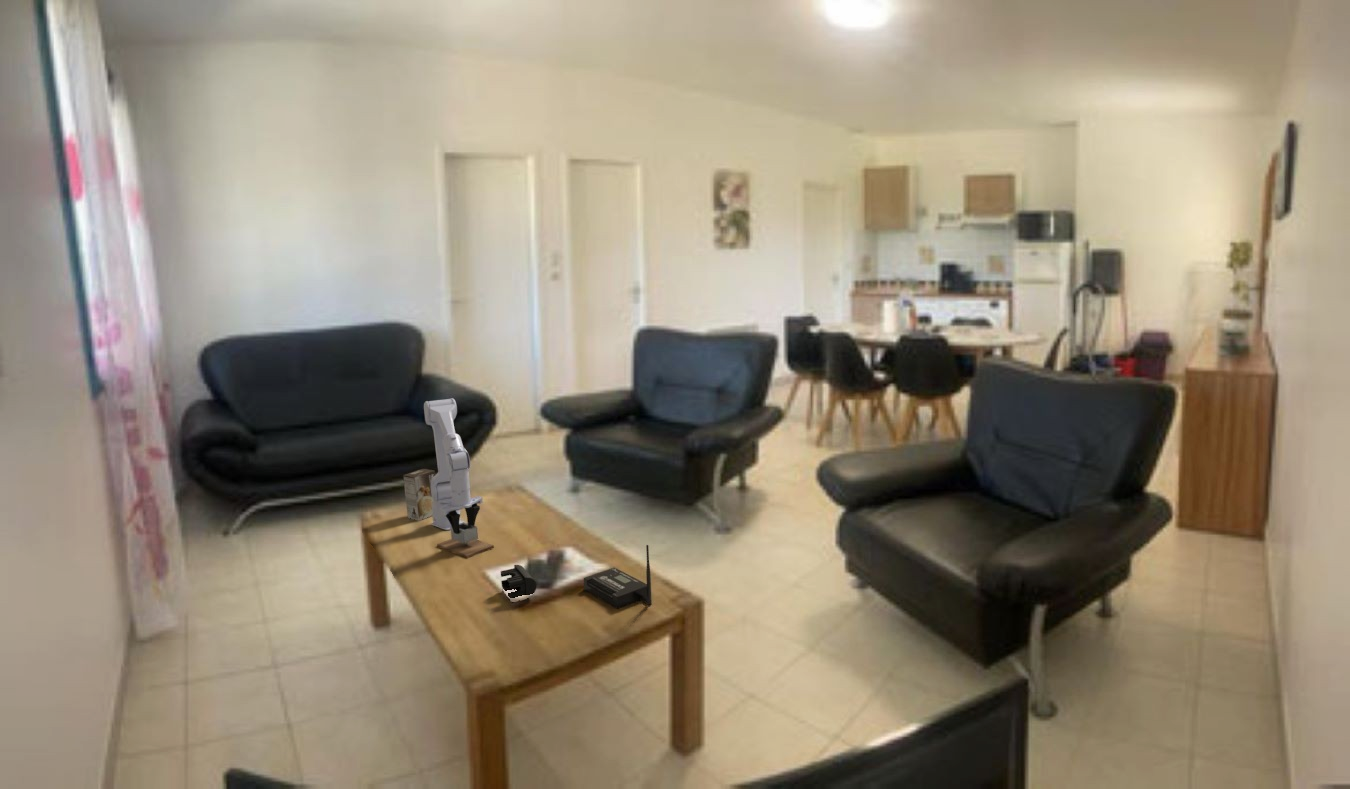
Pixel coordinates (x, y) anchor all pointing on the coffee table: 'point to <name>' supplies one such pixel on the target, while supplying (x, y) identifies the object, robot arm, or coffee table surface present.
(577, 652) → the coffee table surface
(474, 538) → the steel link
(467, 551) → the keeper board
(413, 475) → the coffee box
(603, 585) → the wireless controller
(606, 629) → the coffee table surface
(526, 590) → the end cap
